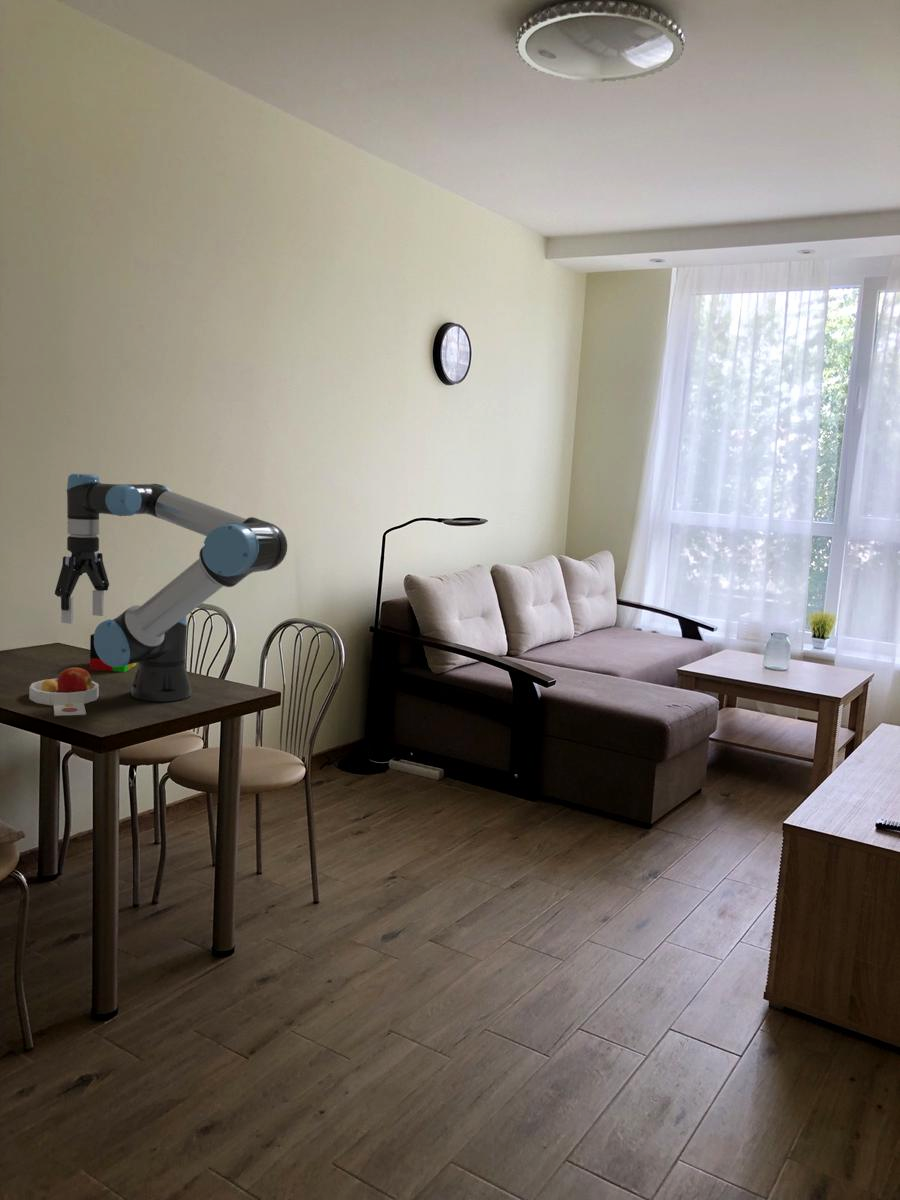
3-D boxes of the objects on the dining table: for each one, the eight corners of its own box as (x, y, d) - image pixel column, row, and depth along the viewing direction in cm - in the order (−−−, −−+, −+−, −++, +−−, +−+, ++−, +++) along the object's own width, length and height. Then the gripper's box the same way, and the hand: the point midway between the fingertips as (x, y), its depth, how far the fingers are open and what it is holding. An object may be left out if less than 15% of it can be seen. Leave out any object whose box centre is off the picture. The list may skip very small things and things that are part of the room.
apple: (82, 703, 250) (82, 672, 249) (49, 700, 250) (50, 669, 249) (96, 696, 258) (96, 666, 256) (64, 693, 258) (65, 663, 257)
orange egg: (61, 694, 257) (61, 679, 257) (50, 697, 253) (51, 682, 253) (48, 692, 258) (48, 676, 258) (37, 695, 254) (37, 680, 254)
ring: (110, 694, 260) (111, 683, 259) (70, 708, 245) (70, 696, 244) (58, 686, 264) (59, 675, 264) (16, 699, 249) (16, 687, 249)
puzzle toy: (103, 662, 296) (103, 629, 294) (136, 664, 295) (137, 631, 294) (89, 669, 286) (90, 635, 284) (124, 672, 286) (125, 637, 284)
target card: (85, 714, 240) (85, 712, 240) (54, 715, 238) (54, 713, 238) (83, 704, 249) (83, 702, 249) (53, 704, 247) (53, 703, 247)
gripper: (97, 531, 264) (97, 611, 267) (39, 537, 240) (39, 625, 243) (123, 533, 263) (122, 613, 266) (67, 539, 238) (67, 627, 241)
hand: (82, 619), depth 254 cm, fingers open, 13 cm apart
